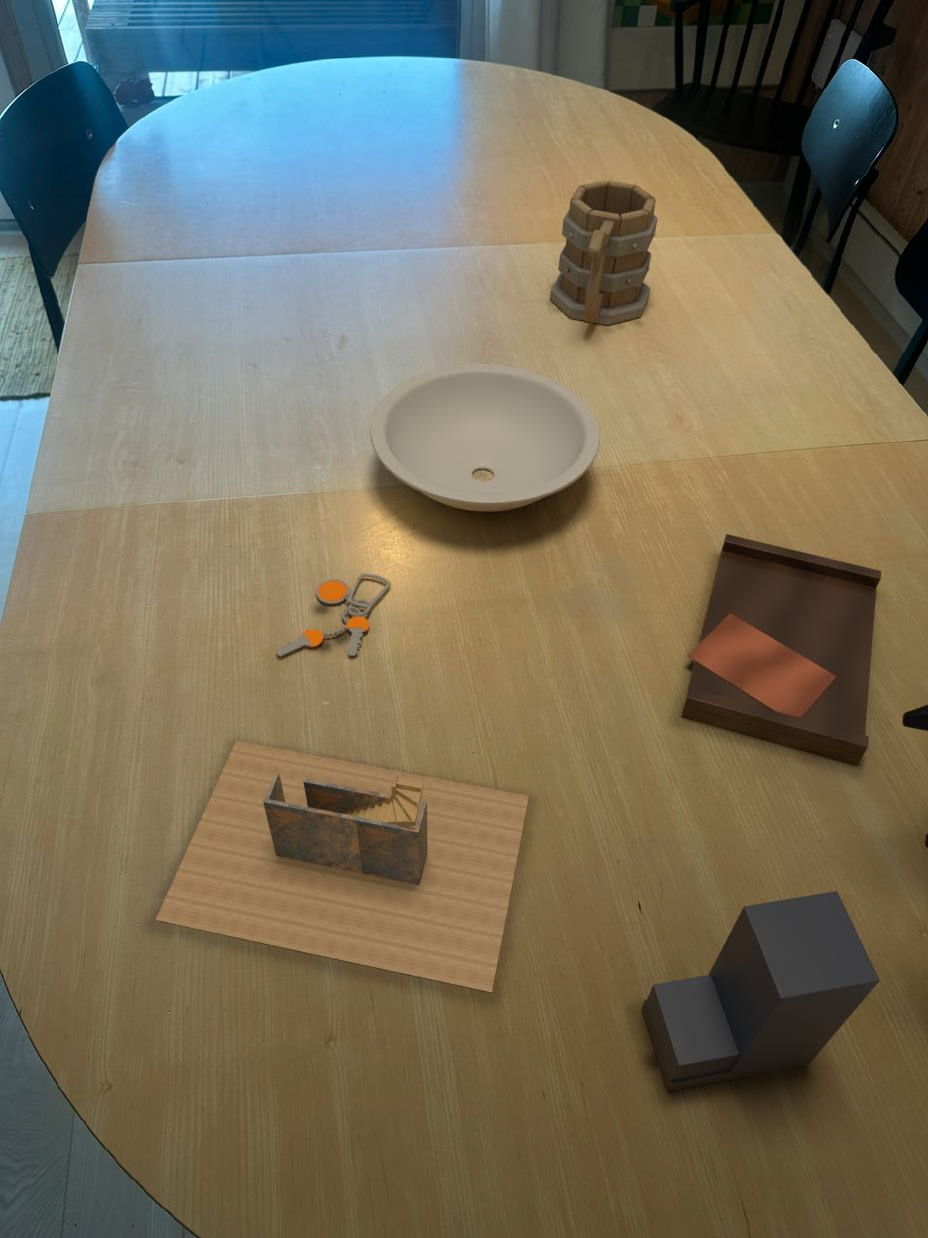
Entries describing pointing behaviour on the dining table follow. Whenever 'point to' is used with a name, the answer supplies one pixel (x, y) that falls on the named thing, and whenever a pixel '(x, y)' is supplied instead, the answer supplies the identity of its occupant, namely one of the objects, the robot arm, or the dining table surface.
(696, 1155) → the dining table surface
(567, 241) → the tankard
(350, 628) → the key chain
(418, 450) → the white vessel sink
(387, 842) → the architectural model on board
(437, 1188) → the dining table surface
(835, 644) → the brown serving tray
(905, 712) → the robot arm
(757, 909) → the charcoal gray box
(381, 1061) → the dining table surface
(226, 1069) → the dining table surface
